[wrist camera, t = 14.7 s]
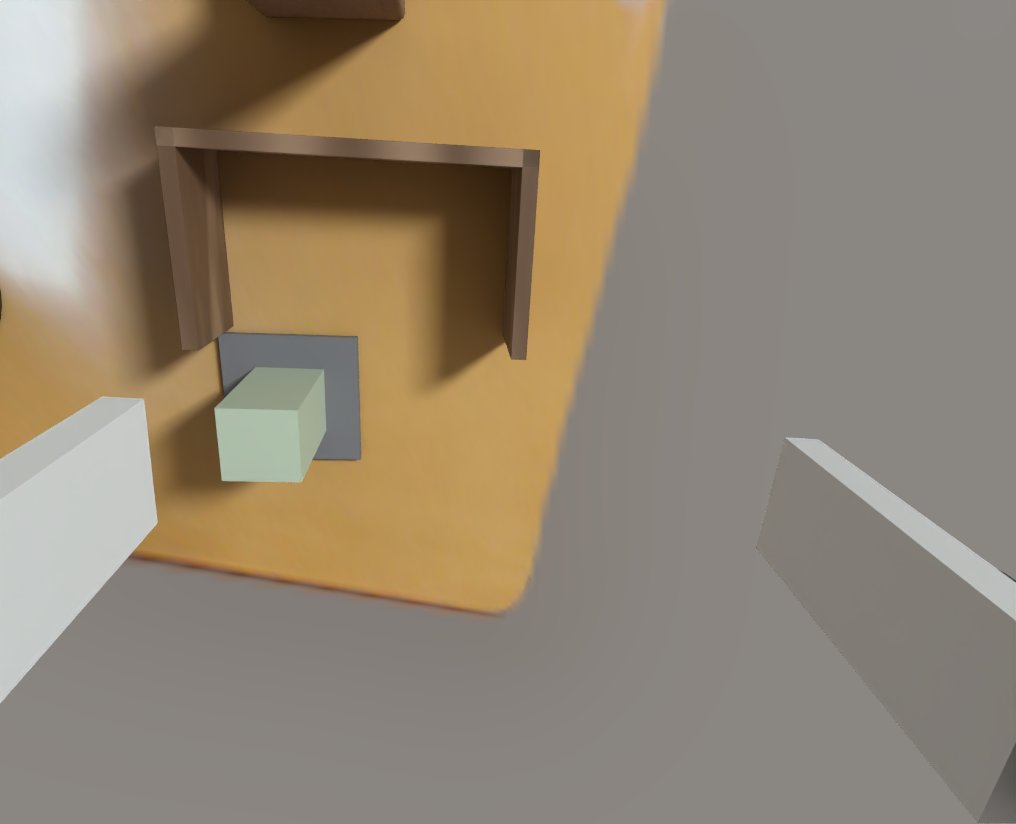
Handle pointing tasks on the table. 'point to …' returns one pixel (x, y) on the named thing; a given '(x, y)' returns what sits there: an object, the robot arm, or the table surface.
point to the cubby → (196, 172)
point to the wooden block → (332, 8)
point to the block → (271, 425)
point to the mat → (305, 353)
